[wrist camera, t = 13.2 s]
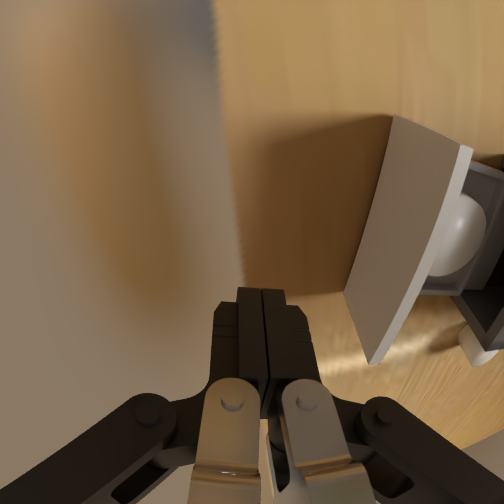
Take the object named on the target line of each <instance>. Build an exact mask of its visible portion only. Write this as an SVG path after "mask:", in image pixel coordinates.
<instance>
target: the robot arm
mask: <svg viewBox="0 0 504 504" xmlns="http://www.w3.org/2000/svg"><path fill="white" fill-rule="evenodd" d="M260 419H268V433H267V436H266V445H267V451H268V458H269V464H270V470H271V476H272V483H273V489H274V501H273V504H376V501H375V499H376V500H377V501H378V502H380V503H381V504H504V481H503V480H502V479H500V478H499V477H497V476H496V475H495V474H493V473H492V472H490V471H489V470H487V469H486V468H485V467H483V466H482V465H481V464H479V463H478V462H476V461H475V460H474V459H472V458H471V457H469V456H468V455H467V454H465V453H464V452H462V451H461V450H460V449H459V448H457V447H456V446H455V445H453V444H452V443H450V442H449V441H448V440H446V439H445V438H444V437H442V436H441V435H440V434H438V433H437V432H436V431H434V430H433V429H432V428H430V427H429V426H428V425H426V424H425V423H424V422H422V421H421V420H420V419H418V418H417V417H416V416H414V415H413V414H412V413H410V412H409V411H408V410H407V409H405V408H404V407H403V406H401V405H400V404H399V403H397V402H396V401H394V400H393V399H391V398H388V397H374V398H372V399H370V400H368V401H367V402H366V403H365V404H360V403H355V402H350V401H346V400H342V399H339V398H337V397H335V396H333V395H332V394H331V393H330V391H329V390H328V389H327V388H326V387H325V386H324V385H323V384H322V382H321V379H320V375H319V371H318V366H317V361H316V357H315V352H314V348H313V343H312V342H311V334H310V332H309V326H308V321H307V317H306V316H305V314H304V313H303V312H302V310H301V309H300V308H299V307H298V306H294V305H286V300H285V294H284V290H280V289H264V288H261V290H260V288H247V287H238V290H237V299H236V302H223V301H222V302H221V303H220V304H219V306H218V307H217V308H216V310H215V311H214V319H213V332H212V346H211V361H210V377H209V381H208V383H207V385H206V387H205V388H204V389H203V390H202V391H201V392H200V393H198V394H197V395H195V396H193V397H190V398H187V399H182V400H176V401H172V402H169V401H168V400H167V399H165V398H164V397H162V396H160V395H157V394H152V393H143V394H138V395H136V396H133V397H132V398H130V399H129V400H127V401H126V402H125V403H124V404H122V405H121V406H119V407H118V408H117V409H115V410H114V411H113V412H111V413H110V414H109V415H107V416H106V417H104V418H103V419H102V420H100V421H99V422H98V423H96V424H95V425H93V426H92V427H91V428H90V429H88V430H87V431H85V432H84V433H82V434H81V435H80V436H78V437H77V438H75V439H74V440H73V441H71V442H70V443H68V444H67V445H66V446H64V447H63V448H61V449H60V450H58V451H57V452H56V453H54V454H53V455H51V456H50V457H49V458H47V459H45V460H44V461H43V462H41V463H40V464H38V465H37V466H35V467H34V468H32V469H31V470H29V471H28V472H26V473H25V474H24V475H22V476H20V477H19V478H18V479H16V480H14V481H13V482H11V483H10V484H8V485H7V486H5V487H3V488H2V489H0V504H136V503H137V502H139V501H140V500H141V499H142V498H144V497H145V496H146V495H147V494H148V493H150V492H151V491H152V490H153V489H154V488H155V487H157V486H158V485H159V484H160V483H161V482H162V481H163V480H165V479H166V478H167V477H168V476H169V475H170V474H171V473H172V472H174V471H175V470H176V469H177V468H178V467H179V466H184V465H189V464H194V463H195V465H194V467H193V470H192V475H191V481H190V488H189V496H188V502H187V504H260V501H261V477H260V473H259V470H258V458H259V427H260Z"/></svg>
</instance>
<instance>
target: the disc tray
mask: <svg viewBox="0 0 504 504" xmlns="http://www.w3.org/2000/svg"><path fill="white" fill-rule="evenodd" d="M473 150H474V149H473V148H471V147H469V146H467V145H465V144H463V143H461V142H459V141H457V140H455V139H453V138H451V137H449V136H447V135H444V134H442V133H440V132H438V131H436V130H434V129H431V128H429V127H427V126H424V125H422V124H420V123H418V122H415V121H413V120H410V119H408V118H405V117H402V116H398V115H395V114H394V118H393V122H392V127H391V131H390V136H389V140H388V145H387V149H386V153H385V157H384V161H383V165H382V169H381V173H380V177H379V181H378V184H377V188H376V192H375V195H374V199H373V202H372V206H371V209H370V213H369V216H368V220H367V223H366V226H365V229H364V233H363V236H362V239H361V242H360V245H359V249H358V252H357V255H356V258H355V261H354V264H353V267H352V270H351V273H350V276H349V278H348V281H347V284H346V287H345V290H344V293H343V295H344V297H345V300H346V303H347V305H348V308H349V311H350V313H351V316H352V319H353V322H354V325H355V327H356V330H357V333H358V336H359V339H360V342H361V344H362V347H363V350H364V353H365V356H366V359H367V362H368V365H370V364H380V363H381V361H382V360H383V358H384V356H385V355H386V353H387V351H388V350H389V348H390V346H391V344H392V343H393V341H394V339H395V338H396V336H397V334H398V332H399V330H400V329H401V327H402V325H403V323H404V321H405V319H406V318H407V316H408V314H409V312H410V310H411V308H412V306H413V304H414V302H415V300H416V298H417V296H418V295H442V296H460V294H461V293H462V291H463V289H466V290H483V289H484V287H485V285H486V283H487V281H488V279H489V277H490V275H491V273H492V272H493V270H494V268H495V266H496V264H497V261H498V259H499V257H500V255H501V253H502V251H503V249H504V172H503V171H500V170H498V169H495V168H493V167H490V166H487V165H485V164H482V163H479V162H477V161H474V160H471V157H472V154H473ZM461 190H462V191H464V192H465V193H466V194H467V195H469V196H470V197H471V198H472V199H473V200H475V201H476V202H477V203H478V204H479V205H480V206H481V207H482V209H483V211H484V213H485V217H486V230H485V235H484V238H483V241H482V243H481V245H480V247H479V249H478V251H477V252H476V254H475V255H474V256H473V257H472V259H471V260H470V261H469V262H468V263H467V264H465V265H464V266H463V267H462V268H460V269H459V270H457V271H455V272H453V273H451V274H448V275H445V276H430V275H428V273H429V271H430V269H431V267H432V264H433V262H434V260H435V258H436V255H437V253H438V251H439V248H440V246H441V243H442V241H443V239H444V236H445V234H446V231H447V229H448V226H449V223H450V221H451V218H452V215H453V213H454V210H455V207H456V204H457V202H458V199H459V196H460V193H461Z"/></svg>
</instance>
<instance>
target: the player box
mask: <svg viewBox="0 0 504 504" xmlns="http://www.w3.org/2000/svg"><path fill="white" fill-rule="evenodd" d="M501 166H502V167H503V168H504V158H503V161H502V164H501ZM450 297H451V299H452V300H453V302H454V303H455V305H456V306H457V308H458V309H459V311H460V312H461V314H462V315H463V317H464V318H465V320H466V322H467V323H468V325H469V326H470V328H471V329H472V331H473V333H474V334H475V336H476V338H477V339H478V341H479V343H480V344H481V346H482V348H483V349H484V351H485V352H488V351H494V350H500V349H504V287H499V286H485V287H484V289H483V290H466V289H463V291H462V293H461V294H460V296H450Z"/></svg>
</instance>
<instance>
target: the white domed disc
mask: <svg viewBox="0 0 504 504" xmlns="http://www.w3.org/2000/svg"><path fill="white" fill-rule="evenodd" d="M485 230H486V217H485V213H484V211H483V209H482V207H481V206H480V205H479V204H478V203H477V202H476V201H475V200H473V199H472V198H471V197H470V196H469V195H467V194H466V193H465V192H464V191H462V190H461V193H460V196H459V199H458V202H457V204H456V207H455V210H454V213H453V215H452V218H451V221H450V223H449V226H448V229H447V231H446V234H445V236H444V239H443V241H442V243H441V246H440V248H439V251H438V253H437V255H436V258H435V260H434V262H433V264H432V267H431V269H430V271H429V273H428V275H430V276H445V275H448V274H451V273H453V272H455V271H457V270H459V269H460V268H462V267H463V266H464V265H465V264H467V263H468V262H469V261H470V260H471V259H472V257H473V256H474V255H475V254H476V252H477V251H478V249H479V247H480V245H481V243H482V241H483V238H484V235H485Z"/></svg>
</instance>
